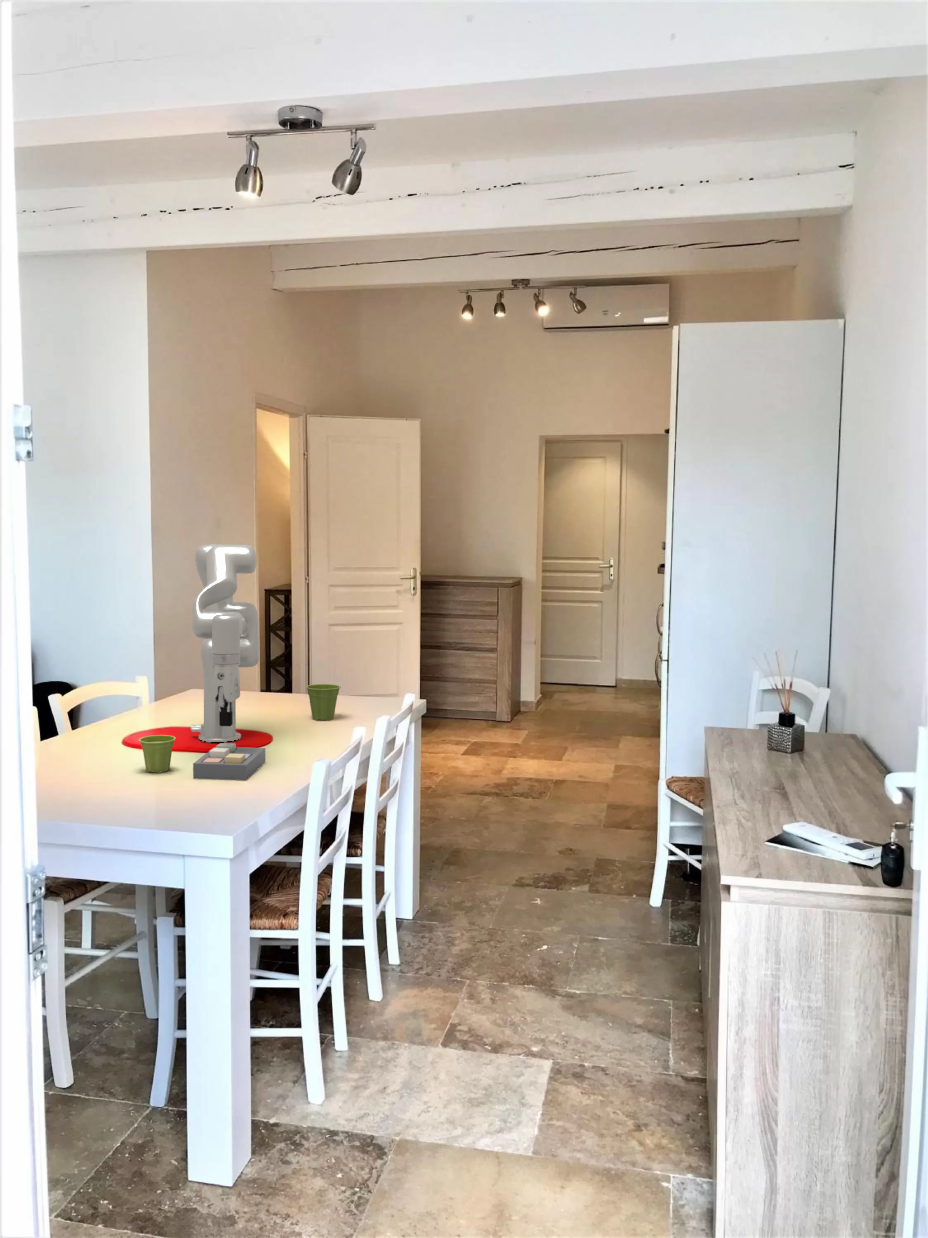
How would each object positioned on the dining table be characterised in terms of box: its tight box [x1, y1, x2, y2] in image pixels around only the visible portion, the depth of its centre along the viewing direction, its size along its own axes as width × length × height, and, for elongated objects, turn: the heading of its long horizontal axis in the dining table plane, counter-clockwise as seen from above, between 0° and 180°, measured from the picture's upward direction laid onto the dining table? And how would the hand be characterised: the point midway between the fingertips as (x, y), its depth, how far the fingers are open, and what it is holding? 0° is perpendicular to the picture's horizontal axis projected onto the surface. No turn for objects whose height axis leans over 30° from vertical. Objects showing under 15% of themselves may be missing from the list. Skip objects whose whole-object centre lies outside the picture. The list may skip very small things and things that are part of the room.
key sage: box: [215, 742, 237, 752], centre depth 281 cm, size 4×4×3 cm
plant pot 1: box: [138, 734, 176, 774], centre depth 273 cm, size 9×9×9 cm
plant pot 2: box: [305, 683, 342, 722], centre depth 347 cm, size 12×12×11 cm
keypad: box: [192, 746, 266, 781], centre depth 275 cm, size 14×20×4 cm
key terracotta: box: [203, 758, 223, 763], centre depth 269 cm, size 4×4×3 cm
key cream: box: [209, 747, 229, 758], centre depth 275 cm, size 4×4×3 cm
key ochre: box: [225, 753, 245, 764], centre depth 269 cm, size 4×4×3 cm
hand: (226, 725), depth 280 cm, fingers closed
